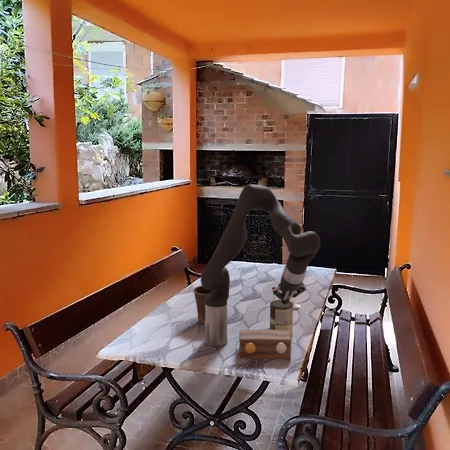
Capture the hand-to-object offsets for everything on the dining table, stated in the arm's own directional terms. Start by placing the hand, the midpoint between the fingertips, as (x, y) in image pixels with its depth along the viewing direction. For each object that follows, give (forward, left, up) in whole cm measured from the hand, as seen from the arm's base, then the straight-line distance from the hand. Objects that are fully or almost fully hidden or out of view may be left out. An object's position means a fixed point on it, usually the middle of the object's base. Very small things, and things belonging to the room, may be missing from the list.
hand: (284, 302), depth 180 cm
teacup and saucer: (+22, +64, -26) cm, 72 cm away
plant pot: (-21, +51, -25) cm, 60 cm away
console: (-4, +12, -25) cm, 28 cm away
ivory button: (+1, +7, -22) cm, 23 cm away
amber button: (-11, +9, -22) cm, 26 cm away
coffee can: (+8, +31, -25) cm, 41 cm away
